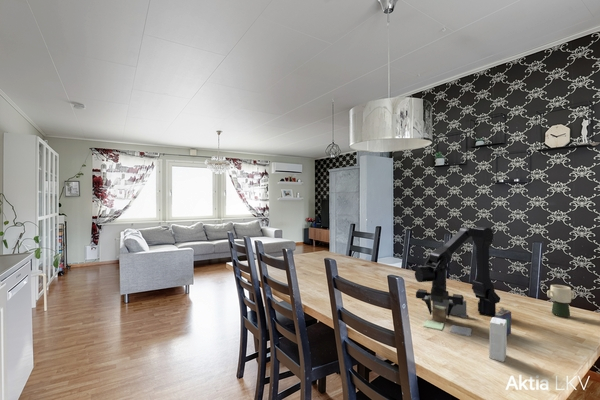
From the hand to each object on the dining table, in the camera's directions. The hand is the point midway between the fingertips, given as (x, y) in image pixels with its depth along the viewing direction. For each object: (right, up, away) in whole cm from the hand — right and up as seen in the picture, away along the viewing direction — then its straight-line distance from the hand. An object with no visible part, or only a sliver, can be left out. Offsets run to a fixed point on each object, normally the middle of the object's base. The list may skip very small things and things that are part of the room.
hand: (439, 316), depth 132 cm
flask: (+17, -1, -16) cm, 24 cm away
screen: (+7, -1, +6) cm, 10 cm away
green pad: (-6, -1, -7) cm, 9 cm away
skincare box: (+4, -1, -32) cm, 33 cm away
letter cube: (0, -1, 0) cm, 1 cm away
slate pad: (+3, -1, -12) cm, 13 cm away
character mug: (+56, -1, +3) cm, 56 cm away
